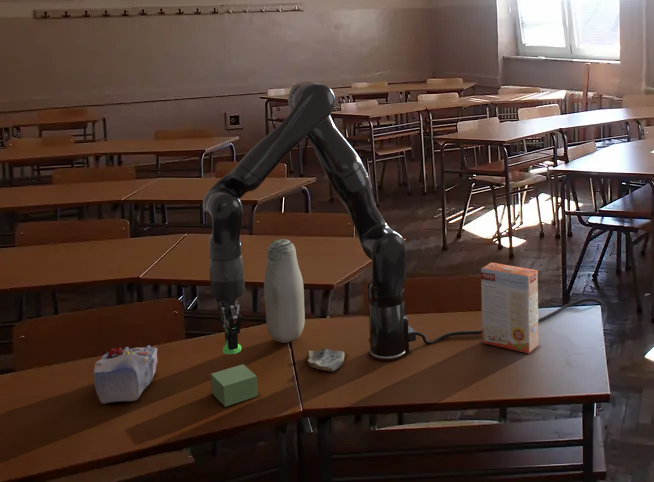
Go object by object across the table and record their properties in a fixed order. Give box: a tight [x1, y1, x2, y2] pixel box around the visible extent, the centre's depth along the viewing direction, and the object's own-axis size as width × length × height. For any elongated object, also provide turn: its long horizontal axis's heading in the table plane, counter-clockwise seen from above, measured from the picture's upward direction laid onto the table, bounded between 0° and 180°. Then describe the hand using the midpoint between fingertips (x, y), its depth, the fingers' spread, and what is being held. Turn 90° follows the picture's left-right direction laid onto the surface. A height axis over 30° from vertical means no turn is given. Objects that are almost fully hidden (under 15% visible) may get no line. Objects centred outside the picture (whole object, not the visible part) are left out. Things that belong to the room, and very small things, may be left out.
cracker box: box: [480, 262, 539, 354], centre depth 216 cm, size 14×6×21 cm, turn 58°
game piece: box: [222, 328, 242, 356], centre depth 192 cm, size 4×4×6 cm
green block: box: [210, 364, 259, 408], centre depth 194 cm, size 8×8×5 cm
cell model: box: [93, 345, 159, 405], centre depth 198 cm, size 13×11×20 cm
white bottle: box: [263, 239, 306, 344], centre depth 222 cm, size 10×10×28 cm
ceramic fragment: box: [306, 348, 346, 373], centre depth 210 cm, size 11×3×10 cm
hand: (231, 346), depth 192 cm, fingers closed on game piece, 2 cm apart
